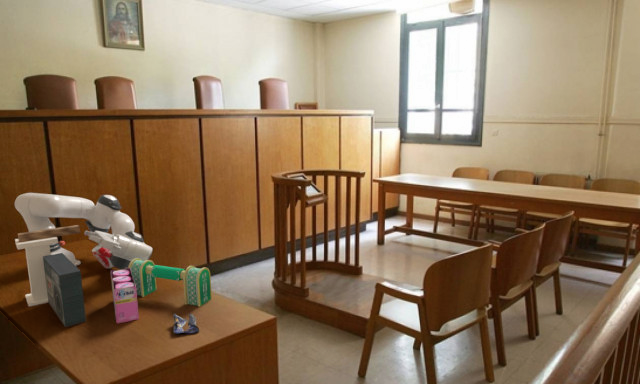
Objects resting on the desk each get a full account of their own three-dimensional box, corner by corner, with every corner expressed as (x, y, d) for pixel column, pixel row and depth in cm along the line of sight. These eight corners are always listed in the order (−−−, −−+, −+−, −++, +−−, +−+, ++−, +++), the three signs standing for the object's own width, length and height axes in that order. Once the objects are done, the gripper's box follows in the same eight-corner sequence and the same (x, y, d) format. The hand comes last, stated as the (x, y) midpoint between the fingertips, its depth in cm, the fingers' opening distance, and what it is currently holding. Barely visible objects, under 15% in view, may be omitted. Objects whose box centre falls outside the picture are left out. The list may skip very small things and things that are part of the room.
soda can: (103, 270, 225) (87, 253, 219) (112, 260, 230) (97, 243, 225) (112, 269, 222) (97, 251, 216) (121, 259, 227) (106, 241, 221)
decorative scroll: (211, 299, 188) (209, 264, 185) (199, 307, 180) (197, 271, 178) (144, 287, 201) (141, 255, 198) (129, 295, 193) (126, 261, 191)
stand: (60, 289, 199) (53, 232, 195) (64, 298, 190) (57, 238, 185) (22, 297, 191) (14, 238, 186) (25, 307, 182) (17, 245, 177)
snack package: (208, 322, 168) (178, 320, 169) (206, 307, 166) (176, 305, 167) (195, 343, 157) (163, 340, 158) (193, 328, 155) (161, 325, 156)
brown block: (78, 231, 197) (78, 224, 196) (80, 232, 194) (79, 226, 194) (18, 240, 183) (17, 233, 183) (19, 242, 181) (18, 235, 181)
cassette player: (48, 302, 186) (42, 256, 183) (67, 298, 191) (62, 252, 187) (65, 327, 164) (59, 275, 161) (86, 321, 169) (80, 270, 165)
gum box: (112, 300, 188) (109, 269, 185) (133, 296, 191) (130, 266, 189) (116, 324, 167) (113, 289, 164) (139, 319, 170) (136, 285, 168)
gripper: (120, 256, 197) (88, 246, 188) (109, 246, 213) (79, 236, 204) (127, 243, 198) (95, 232, 189) (115, 233, 214) (85, 223, 205)
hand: (87, 234), depth 197 cm, fingers open, 8 cm apart
